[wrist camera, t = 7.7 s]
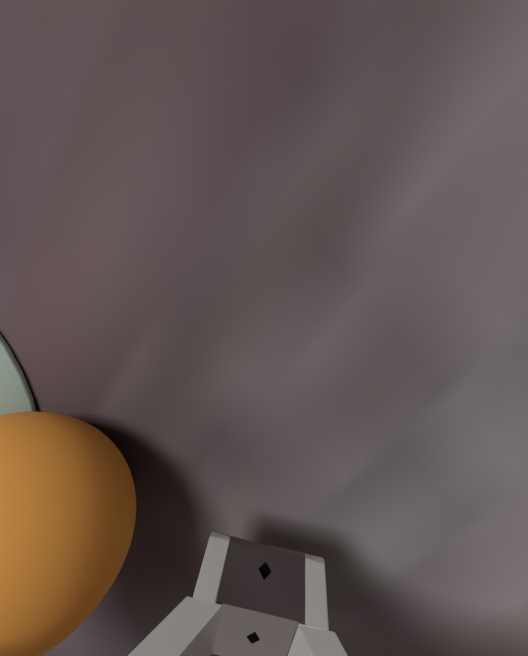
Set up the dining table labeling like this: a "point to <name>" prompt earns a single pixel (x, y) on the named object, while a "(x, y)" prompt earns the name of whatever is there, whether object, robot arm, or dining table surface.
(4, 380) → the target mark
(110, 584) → the ball
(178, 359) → the dining table surface
